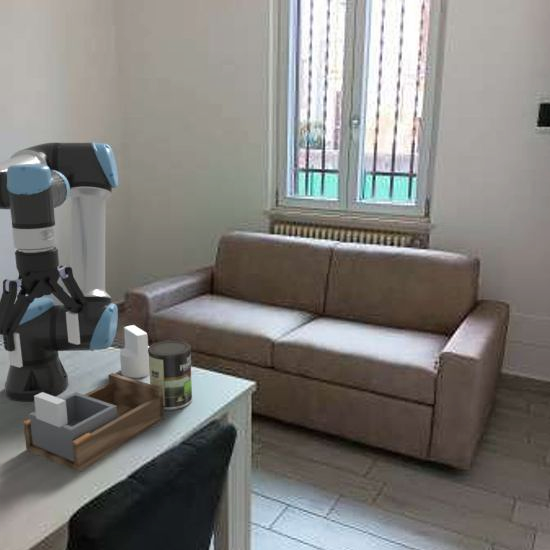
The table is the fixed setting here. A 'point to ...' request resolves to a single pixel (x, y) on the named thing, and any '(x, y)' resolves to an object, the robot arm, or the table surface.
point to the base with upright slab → (135, 353)
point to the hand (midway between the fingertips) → (46, 353)
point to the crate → (67, 420)
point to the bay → (129, 424)
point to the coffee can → (171, 372)
